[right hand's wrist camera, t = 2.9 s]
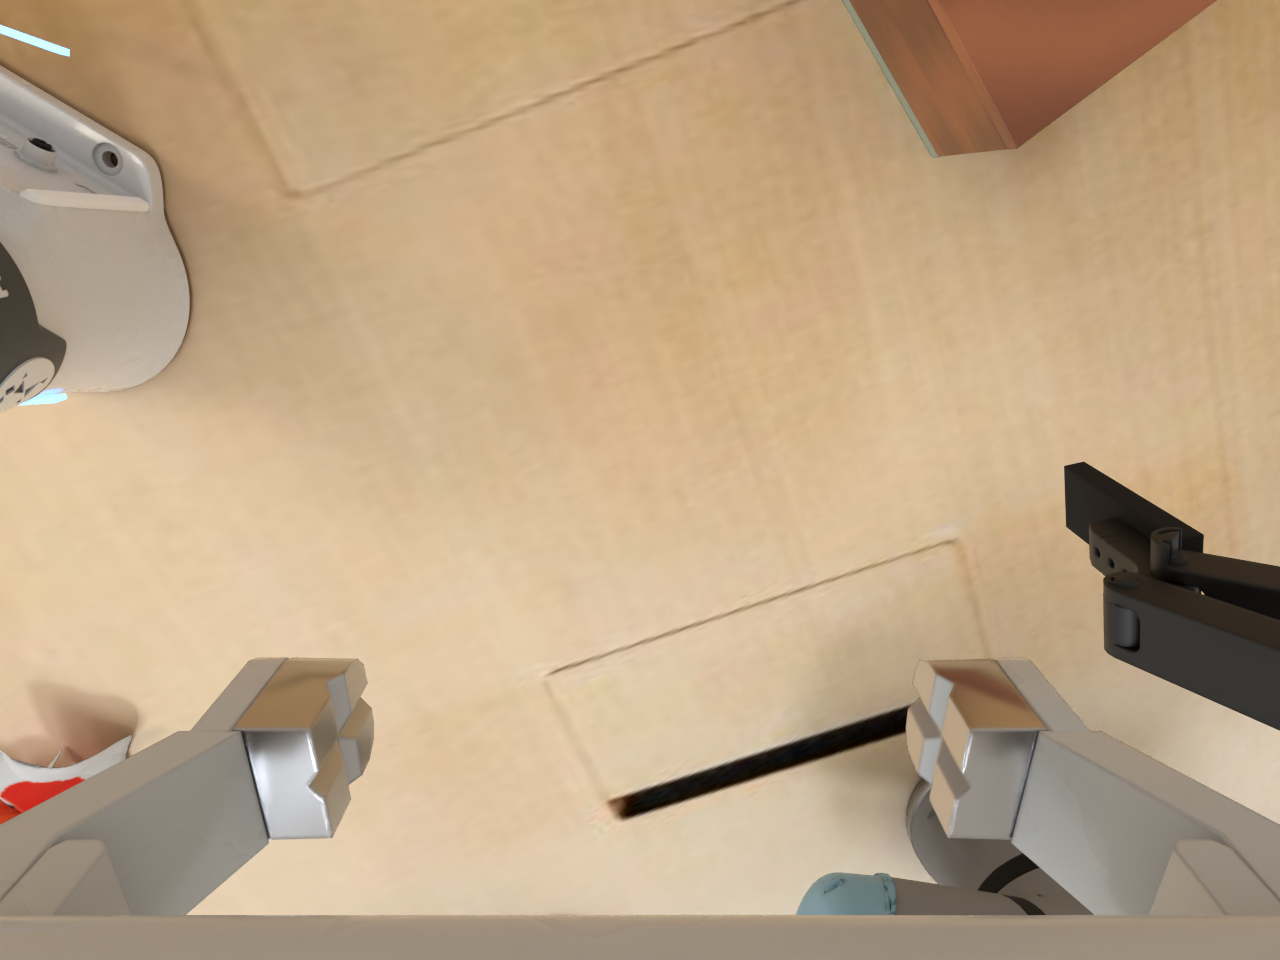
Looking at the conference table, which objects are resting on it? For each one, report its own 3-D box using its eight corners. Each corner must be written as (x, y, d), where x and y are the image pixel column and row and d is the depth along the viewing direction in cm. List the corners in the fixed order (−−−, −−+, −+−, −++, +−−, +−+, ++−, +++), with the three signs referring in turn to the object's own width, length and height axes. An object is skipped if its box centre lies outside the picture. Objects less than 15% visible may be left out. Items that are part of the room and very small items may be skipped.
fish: (-131, 765, 53) (-172, 890, 46) (102, 659, 57) (97, 758, 50) (-23, 831, 60) (-43, 948, 53) (177, 731, 64) (183, 828, 57)
